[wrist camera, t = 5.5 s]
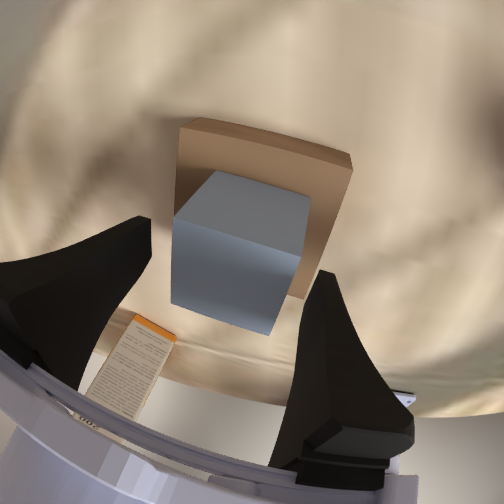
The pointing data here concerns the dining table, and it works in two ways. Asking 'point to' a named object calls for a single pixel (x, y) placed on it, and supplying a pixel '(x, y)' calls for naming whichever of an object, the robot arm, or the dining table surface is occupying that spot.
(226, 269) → the cube
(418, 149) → the dining table surface
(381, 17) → the dining table surface
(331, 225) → the base
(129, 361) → the supplement box
